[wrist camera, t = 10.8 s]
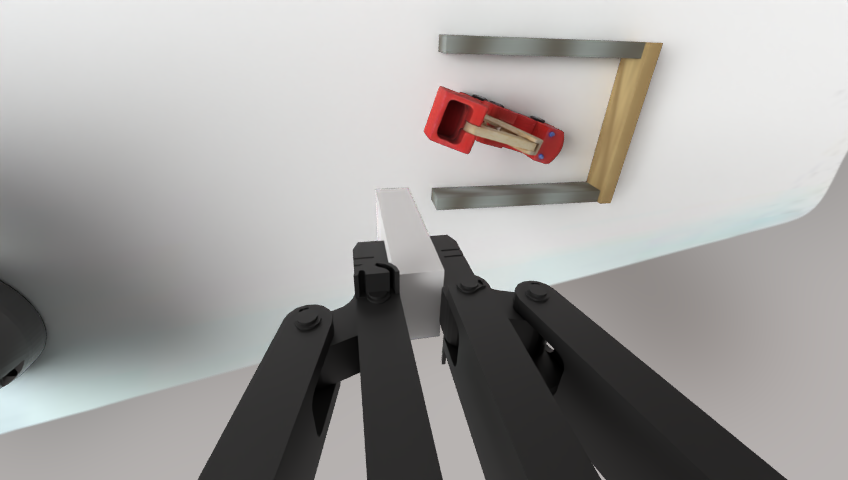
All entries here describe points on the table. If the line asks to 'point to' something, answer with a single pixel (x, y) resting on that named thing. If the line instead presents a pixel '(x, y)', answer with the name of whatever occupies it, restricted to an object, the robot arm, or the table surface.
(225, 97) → the table surface
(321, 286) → the table surface
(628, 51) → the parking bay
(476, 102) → the toy fire truck
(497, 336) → the robot arm
